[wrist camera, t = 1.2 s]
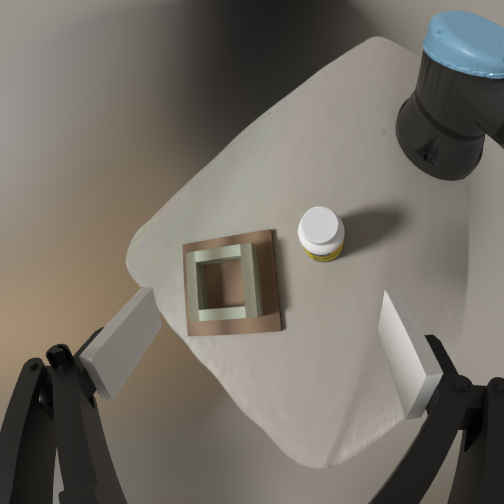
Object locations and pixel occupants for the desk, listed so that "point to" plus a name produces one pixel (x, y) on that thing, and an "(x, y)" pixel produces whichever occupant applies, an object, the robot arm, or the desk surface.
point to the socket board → (231, 285)
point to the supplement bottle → (321, 234)
